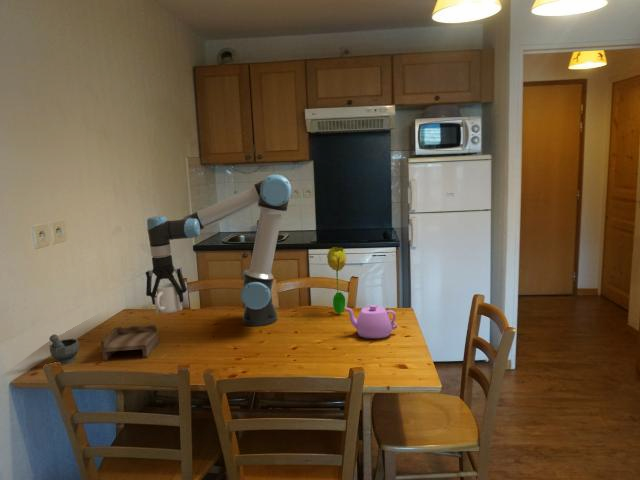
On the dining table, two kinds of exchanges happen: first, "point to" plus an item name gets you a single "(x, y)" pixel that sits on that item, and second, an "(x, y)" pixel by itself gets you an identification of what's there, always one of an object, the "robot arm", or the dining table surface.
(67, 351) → the mortar and pestle
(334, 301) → the flower
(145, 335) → the shelf
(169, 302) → the mug
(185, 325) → the dining table surface
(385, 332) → the teapot
